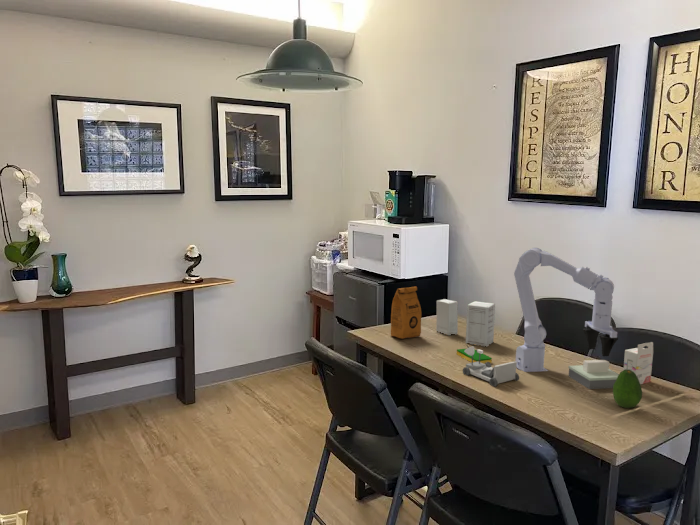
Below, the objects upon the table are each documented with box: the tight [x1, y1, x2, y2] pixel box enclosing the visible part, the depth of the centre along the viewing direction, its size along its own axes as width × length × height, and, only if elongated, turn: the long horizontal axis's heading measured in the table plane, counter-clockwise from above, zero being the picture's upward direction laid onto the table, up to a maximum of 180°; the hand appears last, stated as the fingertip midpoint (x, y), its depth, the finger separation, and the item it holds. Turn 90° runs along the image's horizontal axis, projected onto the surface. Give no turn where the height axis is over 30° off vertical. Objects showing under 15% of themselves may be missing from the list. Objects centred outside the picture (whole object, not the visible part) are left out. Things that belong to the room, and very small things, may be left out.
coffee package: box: [390, 286, 423, 339], centre depth 234 cm, size 10×12×22 cm
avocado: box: [612, 369, 643, 409], centre depth 163 cm, size 8×8×12 cm
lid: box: [567, 359, 620, 381], centre depth 183 cm, size 12×12×5 cm
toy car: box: [462, 344, 520, 388], centre depth 188 cm, size 18×10×12 cm
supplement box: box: [465, 300, 496, 348], centre depth 228 cm, size 10×9×17 cm
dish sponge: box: [456, 347, 493, 364], centre depth 208 cm, size 7×14×2 cm, turn 21°
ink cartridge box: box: [623, 341, 654, 385], centre depth 184 cm, size 9×5×15 cm, turn 117°
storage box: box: [568, 368, 616, 390], centre depth 184 cm, size 12×12×4 cm
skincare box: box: [435, 298, 459, 336], centre depth 242 cm, size 8×6×15 cm
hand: (598, 352), depth 186 cm, fingers open, 7 cm apart
